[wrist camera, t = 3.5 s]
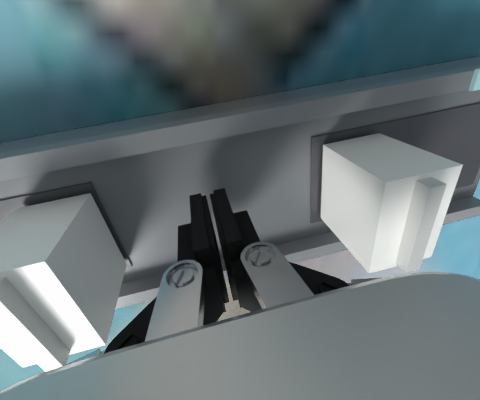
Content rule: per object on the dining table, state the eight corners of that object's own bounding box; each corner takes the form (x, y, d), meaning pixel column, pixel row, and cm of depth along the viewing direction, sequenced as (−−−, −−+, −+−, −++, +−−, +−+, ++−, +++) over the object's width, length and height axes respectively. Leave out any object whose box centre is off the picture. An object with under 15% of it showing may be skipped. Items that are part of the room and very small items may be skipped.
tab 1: (90, 192, 11) (34, 276, 7) (126, 264, 13) (101, 361, 9) (18, 207, 11) (-88, 305, 7) (68, 278, 13) (13, 385, 9)
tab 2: (378, 133, 13) (480, 171, 8) (367, 206, 15) (443, 266, 11) (323, 144, 12) (398, 190, 8) (320, 217, 15) (378, 284, 10)
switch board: (479, 55, 15) (559, 54, 12) (437, 190, 19) (487, 216, 16) (-134, 165, 11) (-253, 206, 8) (-6, 297, 16) (-51, 355, 13)
